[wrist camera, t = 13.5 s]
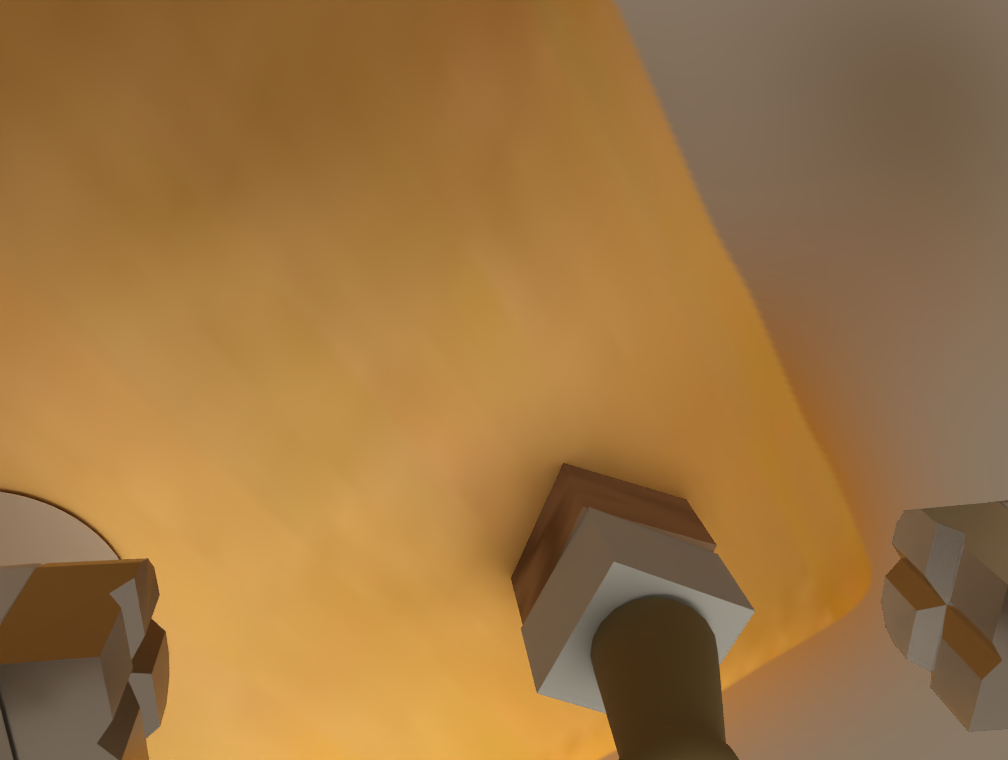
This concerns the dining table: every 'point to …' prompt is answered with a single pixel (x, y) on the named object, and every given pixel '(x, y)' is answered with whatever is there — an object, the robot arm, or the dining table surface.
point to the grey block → (620, 599)
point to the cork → (660, 682)
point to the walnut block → (603, 494)
